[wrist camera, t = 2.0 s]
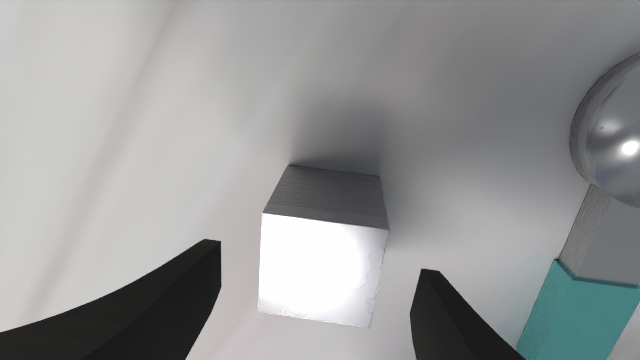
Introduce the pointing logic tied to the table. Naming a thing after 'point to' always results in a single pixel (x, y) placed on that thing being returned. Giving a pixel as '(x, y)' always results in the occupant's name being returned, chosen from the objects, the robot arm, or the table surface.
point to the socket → (323, 246)
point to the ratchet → (596, 231)
